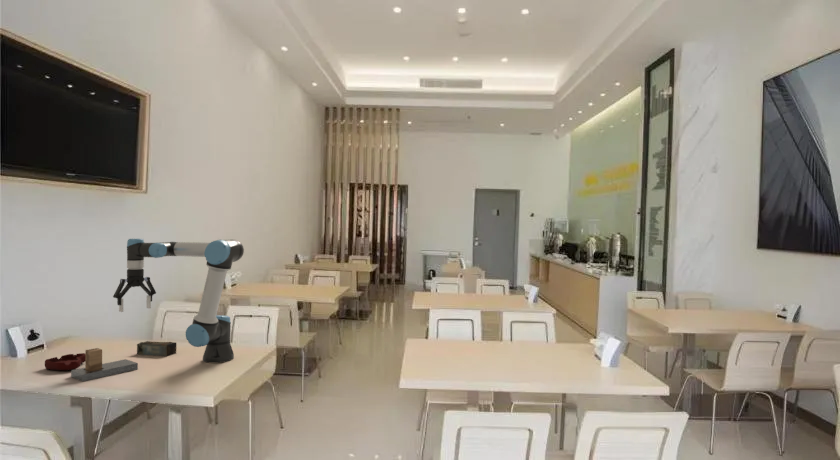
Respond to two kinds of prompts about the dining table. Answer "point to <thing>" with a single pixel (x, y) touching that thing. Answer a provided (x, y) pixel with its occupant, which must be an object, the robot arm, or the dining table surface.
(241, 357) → the dining table surface
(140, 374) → the dining table surface
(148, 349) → the beverage carton
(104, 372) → the steel rail
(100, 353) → the walnut block
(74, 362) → the dark red curved piece
